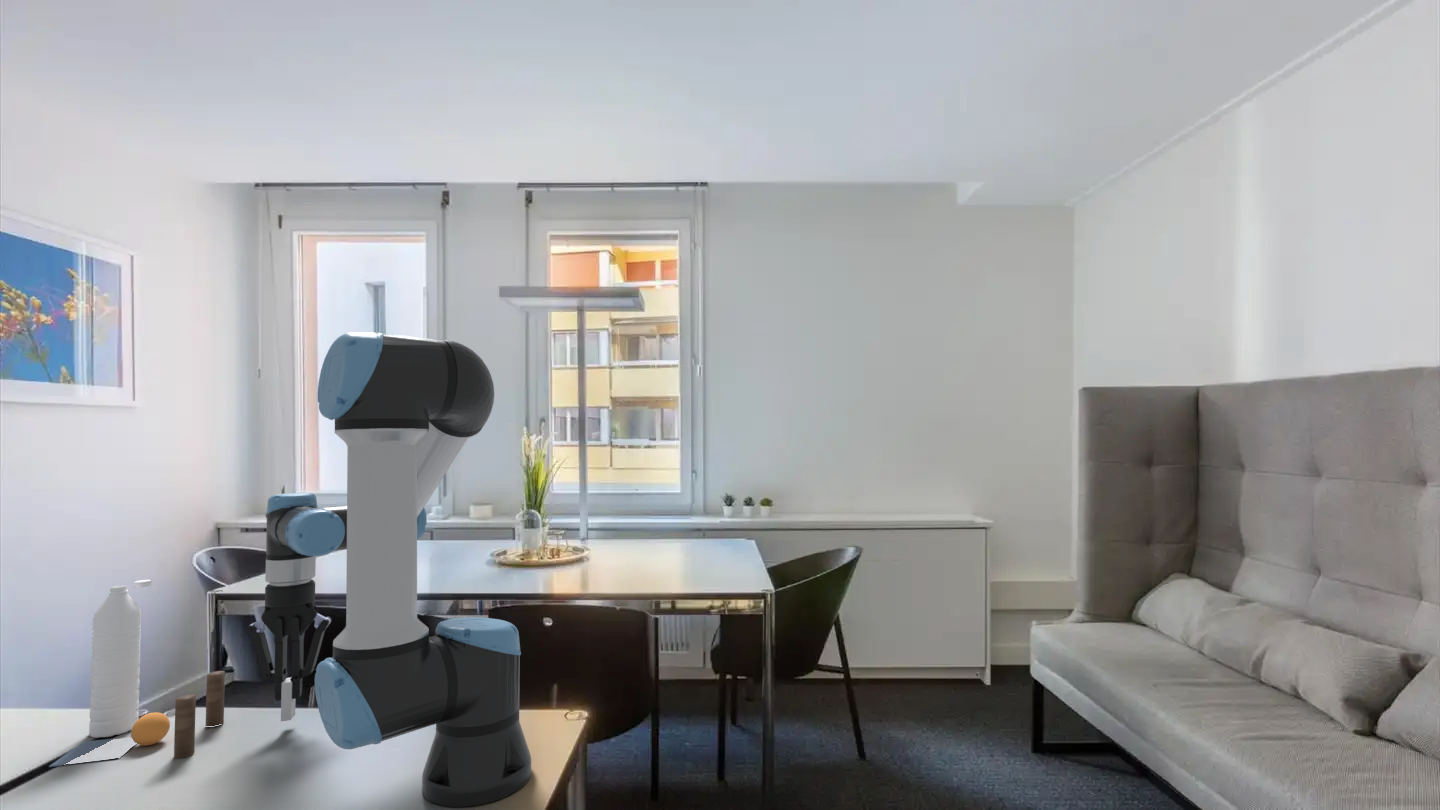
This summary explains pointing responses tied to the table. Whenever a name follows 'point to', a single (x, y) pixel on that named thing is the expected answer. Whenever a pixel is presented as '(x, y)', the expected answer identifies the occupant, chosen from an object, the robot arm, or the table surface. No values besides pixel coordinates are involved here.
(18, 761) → the table surface
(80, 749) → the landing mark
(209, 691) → the far post
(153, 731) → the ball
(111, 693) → the water bottle
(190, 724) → the near post
